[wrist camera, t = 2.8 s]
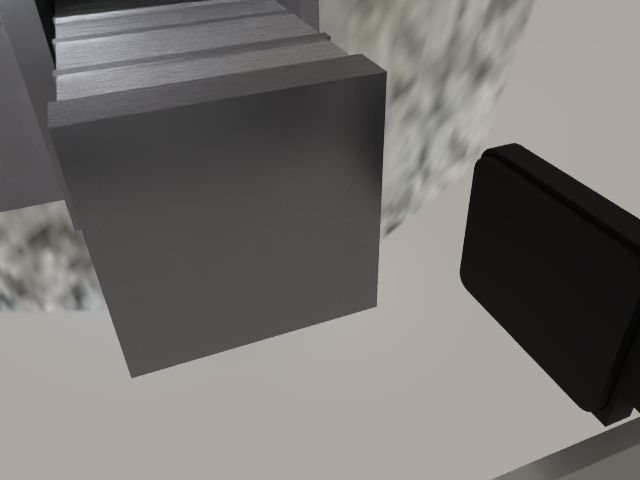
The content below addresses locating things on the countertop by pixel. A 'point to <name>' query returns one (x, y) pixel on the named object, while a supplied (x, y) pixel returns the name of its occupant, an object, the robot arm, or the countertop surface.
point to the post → (217, 170)
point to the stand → (43, 102)
